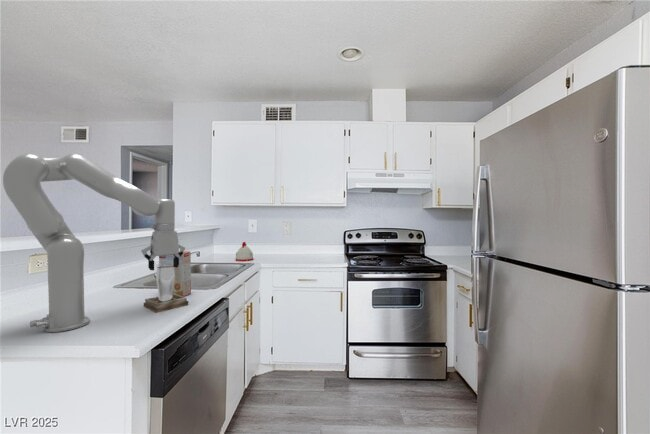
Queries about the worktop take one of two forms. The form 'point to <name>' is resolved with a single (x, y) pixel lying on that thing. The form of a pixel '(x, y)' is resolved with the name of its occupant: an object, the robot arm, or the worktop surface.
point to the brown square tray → (165, 303)
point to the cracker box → (180, 272)
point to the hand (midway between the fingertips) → (164, 268)
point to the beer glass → (165, 283)
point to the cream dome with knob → (244, 253)
